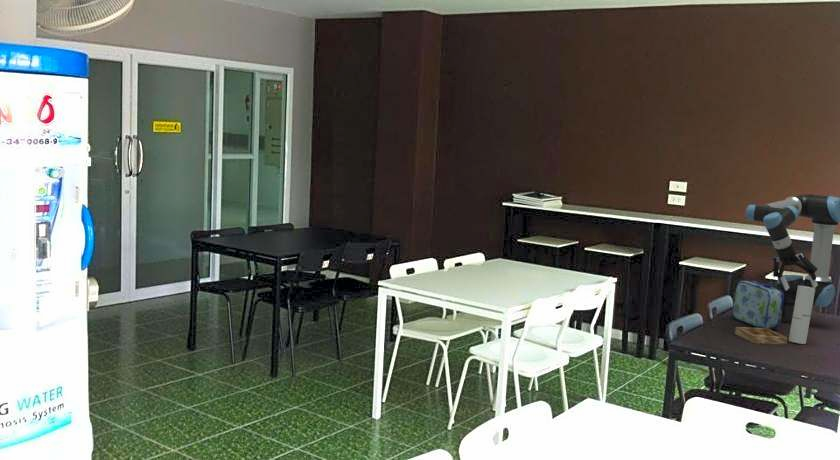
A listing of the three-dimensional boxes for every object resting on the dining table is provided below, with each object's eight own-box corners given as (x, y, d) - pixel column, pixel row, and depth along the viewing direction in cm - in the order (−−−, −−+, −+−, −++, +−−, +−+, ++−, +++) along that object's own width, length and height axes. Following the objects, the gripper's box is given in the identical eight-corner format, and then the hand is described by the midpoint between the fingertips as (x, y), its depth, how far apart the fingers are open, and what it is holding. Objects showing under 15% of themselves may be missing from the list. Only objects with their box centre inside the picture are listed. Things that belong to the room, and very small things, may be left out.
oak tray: (767, 335, 377) (768, 328, 377) (786, 344, 361) (787, 337, 361) (734, 333, 375) (735, 326, 375) (752, 343, 359) (753, 336, 359)
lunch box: (783, 331, 387) (789, 288, 385) (764, 331, 384) (770, 287, 382) (747, 318, 412) (752, 277, 409) (729, 317, 409) (734, 276, 406)
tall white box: (807, 344, 363) (817, 289, 361) (790, 342, 364) (800, 286, 362) (803, 342, 370) (812, 287, 368) (786, 339, 371) (796, 285, 369)
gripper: (754, 253, 375) (772, 293, 378) (805, 246, 355) (823, 289, 357) (763, 245, 379) (780, 286, 382) (813, 238, 359) (831, 281, 361)
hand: (801, 288), depth 370 cm, fingers open, 13 cm apart
